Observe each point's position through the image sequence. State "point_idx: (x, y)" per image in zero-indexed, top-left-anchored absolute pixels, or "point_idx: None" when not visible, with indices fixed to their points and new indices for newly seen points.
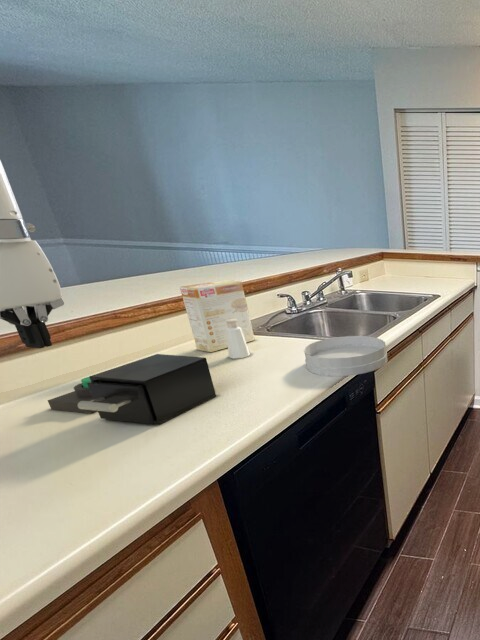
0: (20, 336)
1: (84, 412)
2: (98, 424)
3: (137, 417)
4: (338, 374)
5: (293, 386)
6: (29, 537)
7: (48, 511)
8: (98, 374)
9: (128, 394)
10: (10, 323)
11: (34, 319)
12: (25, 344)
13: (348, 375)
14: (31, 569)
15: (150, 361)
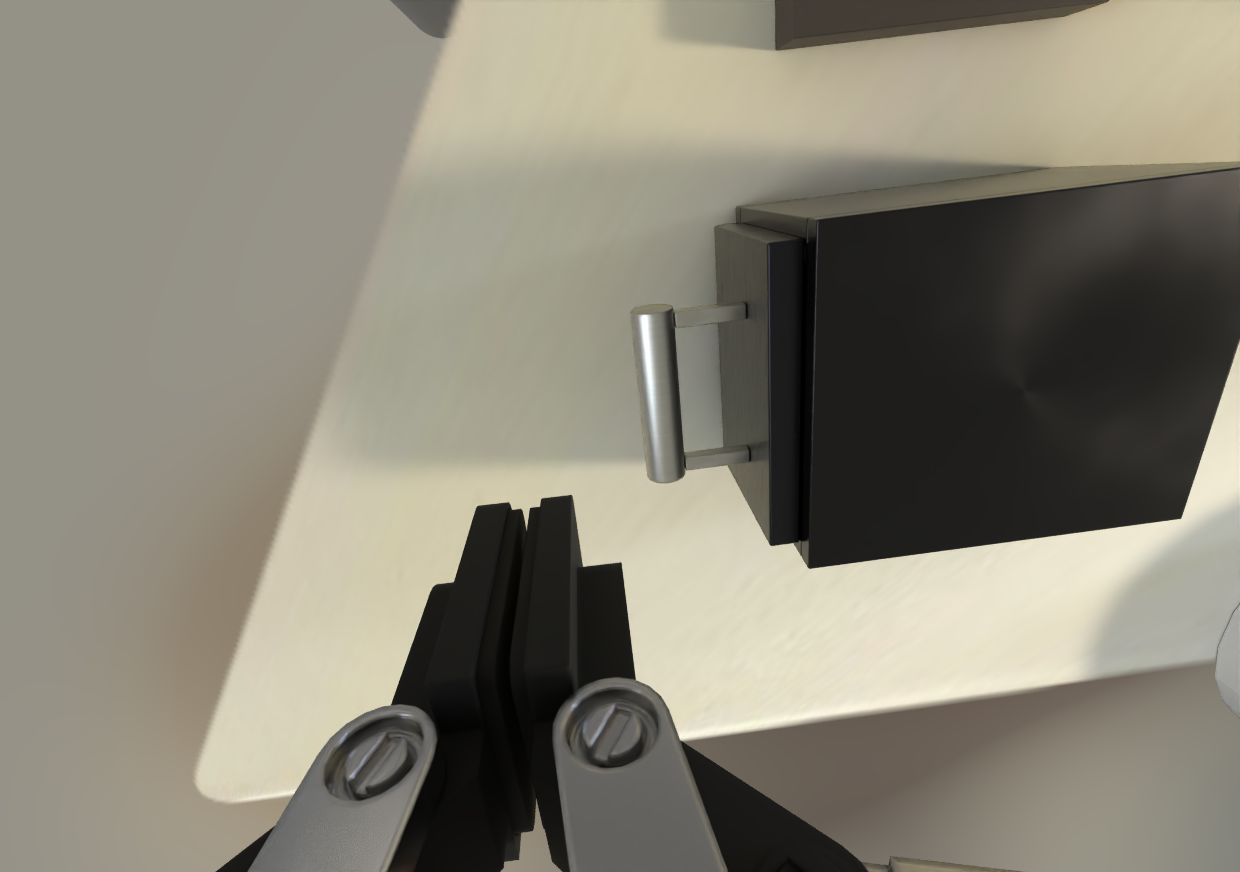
0: (421, 634)
1: (775, 2)
2: (693, 226)
3: (726, 426)
4: (1223, 673)
5: (1117, 599)
6: (255, 698)
7: (315, 644)
8: (855, 242)
9: (756, 468)
10: (335, 754)
11: (560, 857)
12: (477, 515)
13: (1220, 689)
14: (225, 781)
15: (1117, 294)
